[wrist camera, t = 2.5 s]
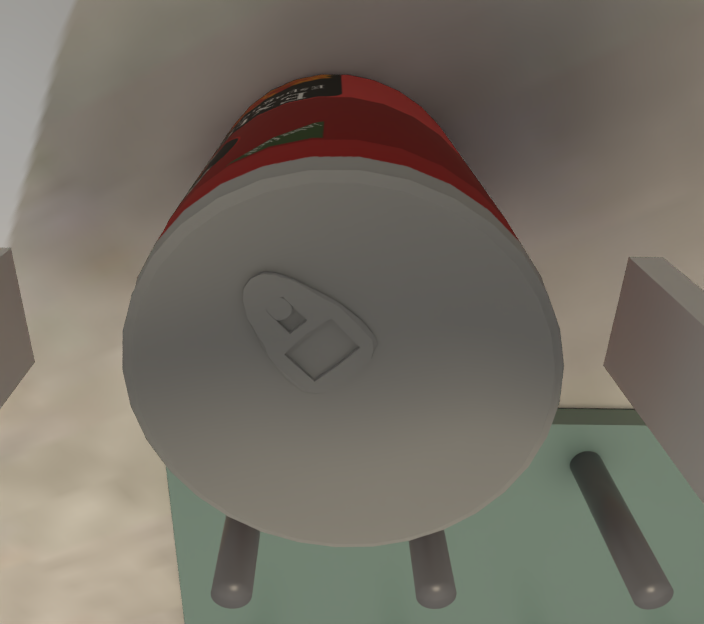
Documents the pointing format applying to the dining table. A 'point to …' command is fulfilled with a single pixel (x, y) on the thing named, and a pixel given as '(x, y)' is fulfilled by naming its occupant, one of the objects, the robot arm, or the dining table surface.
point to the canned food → (341, 326)
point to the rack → (479, 549)
